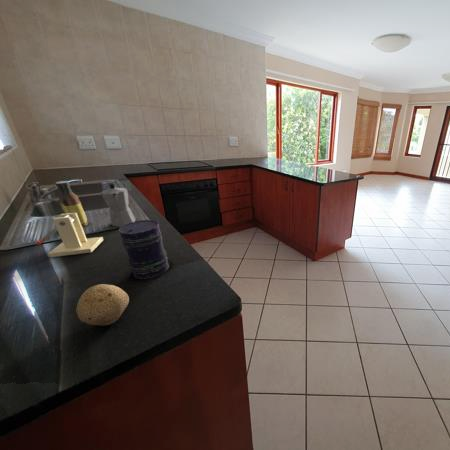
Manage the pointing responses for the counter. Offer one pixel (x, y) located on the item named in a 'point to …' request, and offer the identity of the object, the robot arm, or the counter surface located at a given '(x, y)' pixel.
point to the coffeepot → (118, 206)
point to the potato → (102, 304)
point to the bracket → (72, 237)
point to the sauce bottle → (70, 202)
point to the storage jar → (144, 248)
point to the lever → (50, 233)
